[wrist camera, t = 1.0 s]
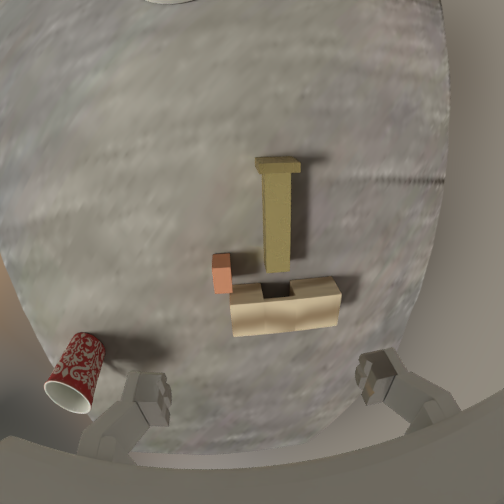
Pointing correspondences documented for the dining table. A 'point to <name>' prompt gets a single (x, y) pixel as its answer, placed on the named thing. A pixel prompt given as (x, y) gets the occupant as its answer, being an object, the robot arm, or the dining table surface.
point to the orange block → (222, 273)
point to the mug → (76, 374)
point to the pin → (276, 209)
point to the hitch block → (285, 307)
